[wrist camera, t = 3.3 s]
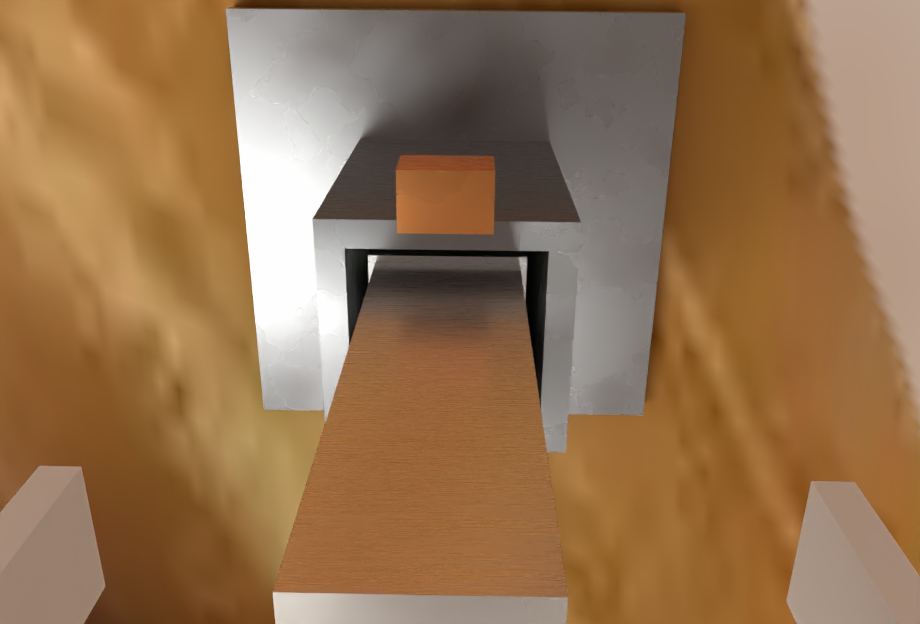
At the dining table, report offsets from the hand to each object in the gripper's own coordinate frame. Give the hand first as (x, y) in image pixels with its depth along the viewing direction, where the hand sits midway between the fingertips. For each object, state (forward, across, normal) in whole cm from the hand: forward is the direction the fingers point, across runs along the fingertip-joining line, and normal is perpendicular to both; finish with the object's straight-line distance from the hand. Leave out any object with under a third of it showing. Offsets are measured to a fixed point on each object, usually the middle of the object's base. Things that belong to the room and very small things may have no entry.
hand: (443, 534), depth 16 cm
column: (+18, 0, 0) cm, 18 cm away
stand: (+20, 0, 0) cm, 20 cm away
